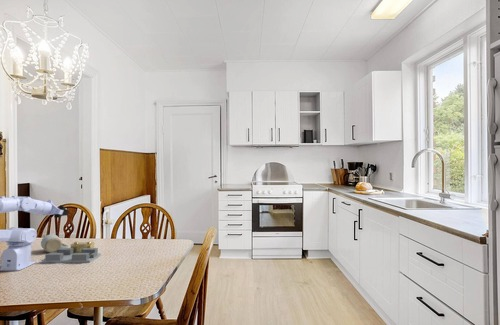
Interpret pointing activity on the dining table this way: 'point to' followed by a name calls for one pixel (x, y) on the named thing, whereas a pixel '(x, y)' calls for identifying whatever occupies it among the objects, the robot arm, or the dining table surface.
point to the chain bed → (72, 256)
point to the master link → (81, 246)
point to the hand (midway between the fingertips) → (61, 211)
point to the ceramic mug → (52, 243)
